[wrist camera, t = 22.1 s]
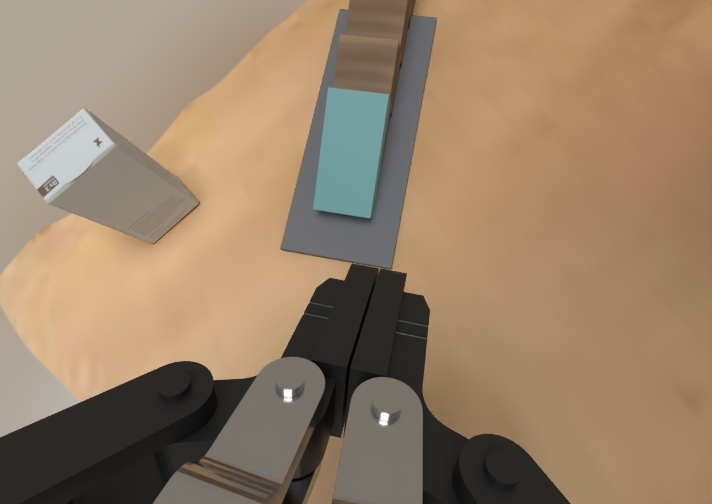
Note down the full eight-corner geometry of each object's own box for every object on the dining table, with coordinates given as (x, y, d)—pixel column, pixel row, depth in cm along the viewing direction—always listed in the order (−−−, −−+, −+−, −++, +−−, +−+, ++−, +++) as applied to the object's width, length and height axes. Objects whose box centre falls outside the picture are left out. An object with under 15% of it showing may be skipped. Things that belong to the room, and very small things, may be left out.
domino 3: (370, 218, 34) (388, 94, 32) (313, 209, 34) (328, 87, 33) (373, 216, 36) (390, 99, 34) (318, 208, 36) (333, 92, 34)
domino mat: (391, 269, 35) (391, 268, 34) (281, 250, 36) (280, 248, 36) (436, 21, 40) (436, 17, 40) (340, 12, 42) (339, 9, 41)
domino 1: (390, 112, 36) (408, -10, 34) (336, 105, 37) (351, -15, 35) (391, 115, 38) (409, 1, 36) (340, 109, 38) (355, -4, 37)
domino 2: (380, 162, 35) (398, 39, 33) (324, 155, 35) (339, 34, 34) (382, 164, 37) (399, 48, 35) (329, 156, 37) (344, 42, 36)
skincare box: (176, 175, 39) (82, 99, 27) (203, 205, 38) (118, 140, 26) (126, 217, 38) (9, 159, 27) (153, 249, 37) (43, 203, 26)
